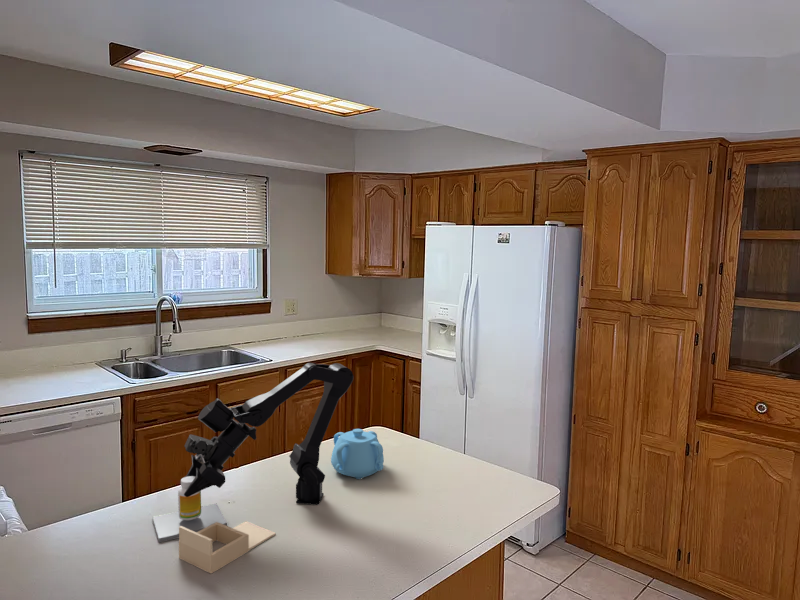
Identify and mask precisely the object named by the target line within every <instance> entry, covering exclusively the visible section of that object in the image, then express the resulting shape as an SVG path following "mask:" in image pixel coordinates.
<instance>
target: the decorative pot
mask: <svg viewBox="0 0 800 600" xmlns="http://www.w3.org/2000/svg"><path fill="white" fill-rule="evenodd" d="M333 445H334V446H333V449H332V453H331V458H330V459H331V460H330V462H331V466H332V467H333V469H334V470H335V471H336V472H337V473H339V474H340V473H341V475H343V476H348V477H353V478H354V479H355V478H356V479H355V480H362V479H364V478H366V477H369V476H372V475H373V474H375V473H377V472H381V471H383V470H384V460H385V458H384V447H383V445H382V444H381V443H380V441H379V439H378V434H377V432H376V431H373V430H369V431H364V430H363V429H362V428H353V429H352V430H350V431H346V432H342V431H339V432H337V433H335V434H334V435H333ZM361 478H362V479H361Z"/></svg>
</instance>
